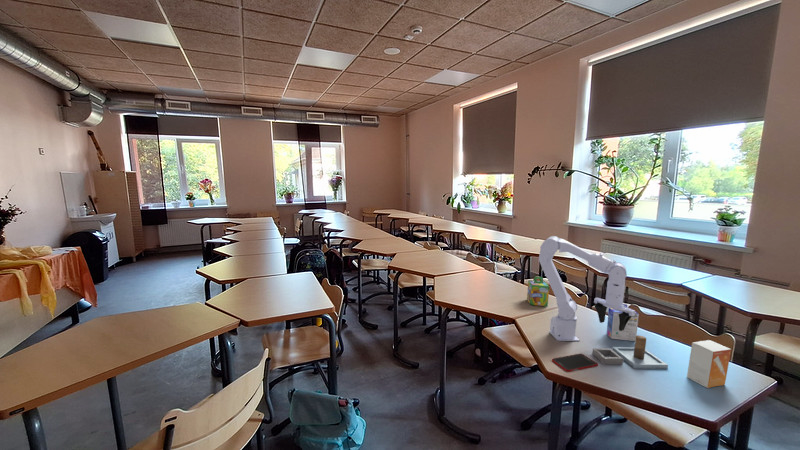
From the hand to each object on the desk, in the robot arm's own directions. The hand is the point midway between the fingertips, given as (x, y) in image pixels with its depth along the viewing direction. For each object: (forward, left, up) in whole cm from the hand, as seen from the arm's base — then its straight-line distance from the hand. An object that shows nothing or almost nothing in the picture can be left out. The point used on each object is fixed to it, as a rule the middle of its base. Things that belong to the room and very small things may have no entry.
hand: (611, 326), depth 126 cm
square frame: (-6, -8, -9) cm, 14 cm away
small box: (+19, -21, -10) cm, 30 cm away
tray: (+6, -8, -9) cm, 14 cm away
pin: (+6, -8, -9) cm, 13 cm away
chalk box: (-9, +47, -10) cm, 49 cm away
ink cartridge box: (+11, +9, -10) cm, 17 cm away
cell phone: (-20, -11, -10) cm, 25 cm away
